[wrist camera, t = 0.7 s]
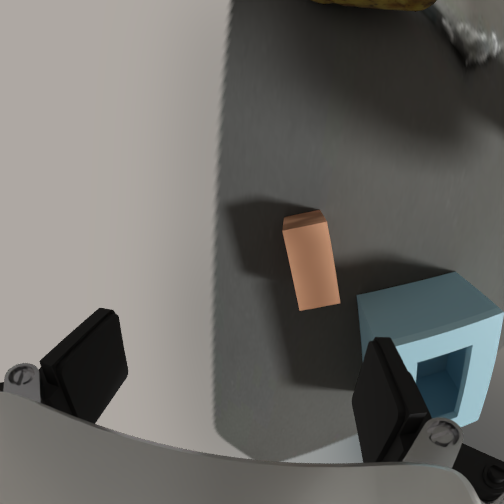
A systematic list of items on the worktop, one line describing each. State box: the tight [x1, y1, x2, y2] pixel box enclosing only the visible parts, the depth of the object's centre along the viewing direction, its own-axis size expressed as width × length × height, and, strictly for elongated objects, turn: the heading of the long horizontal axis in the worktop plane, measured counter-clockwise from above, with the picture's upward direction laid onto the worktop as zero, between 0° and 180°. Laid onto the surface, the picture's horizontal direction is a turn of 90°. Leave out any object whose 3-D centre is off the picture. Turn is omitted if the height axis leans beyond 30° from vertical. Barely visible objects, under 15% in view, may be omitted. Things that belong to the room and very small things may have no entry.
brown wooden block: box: [282, 210, 340, 311], centre depth 27 cm, size 4×7×6 cm, turn 14°
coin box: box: [356, 272, 504, 427], centre depth 26 cm, size 12×14×10 cm
